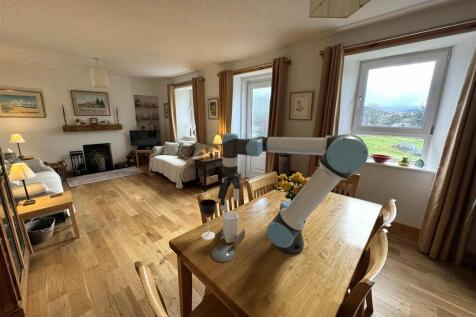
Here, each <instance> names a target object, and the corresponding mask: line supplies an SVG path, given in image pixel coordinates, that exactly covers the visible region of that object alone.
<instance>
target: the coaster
mask: <svg viewBox="0 0 476 317" xmlns="http://www.w3.org/2000/svg"><path fill="white" fill-rule="evenodd" d="M234 256H235V250H233V247H231V246H230V245H226V244H225V245H224V244H223V245H222V244H220V245H218V246H215V247H214V248H213V249H212V250H211V257H212V260H214V261H215V262H217V263H227V262H229V261H232V260H233V259H234V258H235V257H234Z"/></svg>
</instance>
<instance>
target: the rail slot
mask: <svg viewBox="0 0 476 317" xmlns="http://www.w3.org/2000/svg"><path fill="white" fill-rule="evenodd" d="M245 237H246V229H244V228H243V229H242V230H241V231H240V232H239V233H238V234H237V237H236V239H235V240H234V241H233V242H232V248H233V250H234V251H236V249H237V248H239V245H241V243H242V241H243V240H244V239H245ZM222 238H224V234H223V227H221V228H220V230H218V232H217V233H215V237H214V244H216V245H217V244H218V242H220V241H221V239H222Z"/></svg>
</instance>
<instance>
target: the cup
mask: <svg viewBox="0 0 476 317" xmlns="http://www.w3.org/2000/svg"><path fill="white" fill-rule="evenodd" d="M222 228H223V234H224V236H223V239H224V241H225V242H226V243H227V244H230V243H233V241H234V240H235V239H236V237H237V236H238V235H239V233H238V232H239V215H238V214H237V212H236V211H234V210H231V211H226V212H225V211H224V212H223V213H222Z"/></svg>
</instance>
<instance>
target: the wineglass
mask: <svg viewBox="0 0 476 317" xmlns="http://www.w3.org/2000/svg"><path fill="white" fill-rule="evenodd" d="M199 206H200V207H199V209H200V213H201V215H202V216H203V217H205V218H206V219H207V231H205V232H203V233H202V234H201V238H202V239H203V240H206V241H210V240H212V239H215V235H216V233H215V232H213V231H210V218H212V217H213V216H215V213H216V209H217V201H216V200H214V199H209V198H206V199H202V200H200V201H199Z"/></svg>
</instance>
